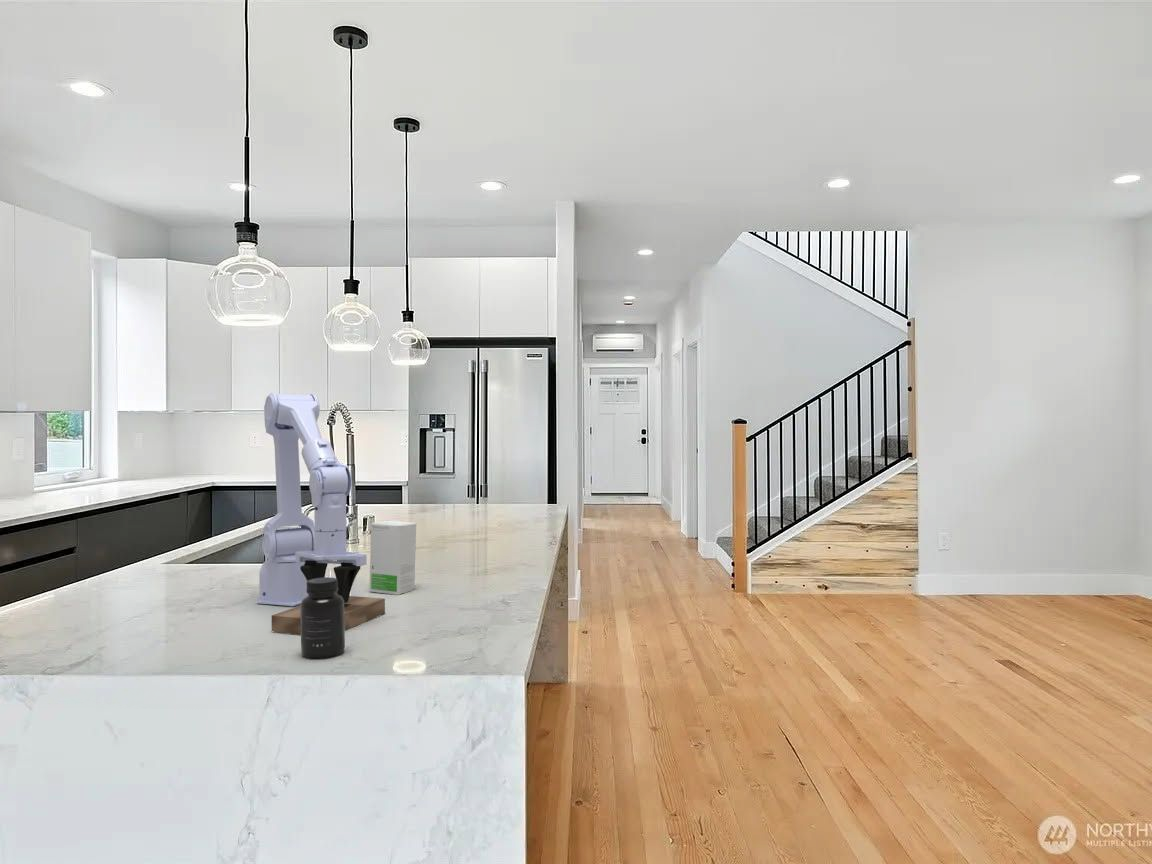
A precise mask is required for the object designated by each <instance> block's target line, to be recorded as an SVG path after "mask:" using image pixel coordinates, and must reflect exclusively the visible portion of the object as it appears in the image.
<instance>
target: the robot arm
mask: <svg viewBox="0 0 1152 864" xmlns="http://www.w3.org/2000/svg"><path fill="white" fill-rule="evenodd" d="M264 402H265V403H264V404H263V405H264V406H263V410H264V411H263V414H264V427H265V433H267V434H268V435H269V436H272V437H273V444H274V461H275V462H274V463H275V465H274V466H275V485H276V507H277V508H276V509H277V514H275V515H274V516H272V517H271V518H270V519H269V520H268V521H267V522H266V523H265V524H264V526H263V537H262V551H263V554H264V556H265V558H267V560H265V561H264V562H263V563H262V564H261V567H260V569H259V574H258V575H259V576H258V577H259V578H258V579H259V580H258V581H259V582H258V583H259V584H258V585H259V586H258V587H259V589H258V590H259V599H258V600H257V601H256V603H257V604H262V605H275V606H287V607H295V606H296V607H297V606H298V605H299V606H300V605H301V602H302V600H303V599H304V598H305V597H307V596H308V593H306V589H307V581H308V580H311V579H315V578H324V577H326V572H327V567H328V565H329V564H332V565H338V566H334V567H333V572H334V576H335V578H336V579H337V584H338V586H337V587H338V594H339V595H340V596H342V598H343V599H344V603H347V602H348V600H349V596H351V595H350V594H351V592H352V587H353V584H354V582H355V580H356V578H357V575H358V573H359V572H360V570H361V567H362V566H366V565H367V562H368V561H367V554H366V553H364V554H363V553H358V552H357V553H356V552H353V551H352V552H350V551H347V496H348V495H349V494H350V493H351V490H352V485H353V484H352V483H353V482H352V481H353V480H352V475H351V473H352V472H351V471H350V468H349V467H348V465H346V464H344V463H343V462H339V460H338V457H337V455H336V453H335V451H334V450H333V447H332V444H331V443H330V442H329V441H328V440H327V439H324V438H322V435H321V431H320V428H319V424H318V420H319V416H320V412H321V411H320V407H321V406H320V402H319V399H318V397H317V396H316V394H314V393H311V394H310V393H309V394H300V393H299V394H297V393H274V392H269V394H268V395H267V396H266V398H265V400H264ZM299 439H300V442H301V443H302V444H303V446H302V449H301V456H302V459H303V461H304V464H305V466H306V468H307V471H308V473H309V481H308V487H309V491H310V497H311V505H312V506H313V507H314V509H313V510H314V520H312V518H310V517H309V516H307V515H306V514H304V513H303V512H302V510H303V509H302V493H301V492H302V489H301V471H300V469H301V468H300V452H299V451H300V450H299ZM295 526H296V527H295ZM297 526H298V527H297ZM285 527H293V528H285ZM280 528H281V529H280ZM282 528H283V529H282Z"/></svg>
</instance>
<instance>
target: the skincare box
mask: <svg viewBox="0 0 1152 864" xmlns="http://www.w3.org/2000/svg"><path fill="white" fill-rule="evenodd" d="M370 527H371V528H370V557H369V563H370V565H369V592H370V593H378V594H379V593H380V594H386V595H387V594H388V595H395V596H400V594H401V595H403V594H406V593H409V592H411V591H414V590H415V581H416V580H415V579H416V577H415V576H416V547H417V544H416V542H417V539H416V538H417V523H416V522H411V521H402V520H389V519H388V520H386V519H385V520H381V521H376V522H371V525H370ZM402 593H403V594H402Z"/></svg>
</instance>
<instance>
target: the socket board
mask: <svg viewBox="0 0 1152 864" xmlns="http://www.w3.org/2000/svg"><path fill="white" fill-rule="evenodd" d="M384 613H385V614H386V599H385V598H382V597H380V598H379V597H370V596H369V597H368V596H358V595H357V596H355V595H349V600H348V602H347V603H344V617H345V631H347V630H350V629H352V628H354V626H355V627H357V626H359V625H362V624H364V623H366V621H367V622H368V620H369V621H371V620H374V619H375V617H376V618H378V617H380V616H379V615H381V616H382V614H383V615H385V614H384ZM377 616H378V617H377ZM373 618H374V619H373ZM370 619H371V620H370ZM363 622H364V623H363ZM361 623H362V624H361ZM272 631H274V632H273V633H275V632H282V633H281V634H285V633H290V634H289V635H295V634H297V635H298V636H301V616H300V605H299V606H298V605H297V606H296V607H295V606H294V607H293V608H290V609H287V610H284V611H281V612H277V613H275V614H272V615H271V632H272Z"/></svg>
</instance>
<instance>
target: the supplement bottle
mask: <svg viewBox="0 0 1152 864" xmlns="http://www.w3.org/2000/svg"><path fill="white" fill-rule="evenodd" d="M337 586H338V584H337V579H336V577H328V576H327V577H326V576H325V577H324V578H315V579H311V580H308V581H307V589H306V593H308V596H307V597H305V598H304V599H303V600H302V602H301V604H299V606H300V616H301V635H300V651H301V655H302V656H303V657H304V658H306V659H312V660H322V659H329V658H334V657H337V656H339V655H341V654H343V652H344V650H345V648H346V634H345V633H346V630H345V617H344V599H343V598H342V596H340V595H339V594H337V593H336V591H338V587H337Z"/></svg>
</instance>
